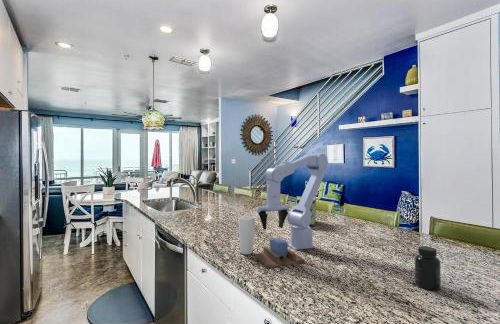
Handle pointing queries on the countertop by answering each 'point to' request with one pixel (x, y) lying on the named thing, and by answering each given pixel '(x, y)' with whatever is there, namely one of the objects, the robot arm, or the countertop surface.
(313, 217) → the protein box
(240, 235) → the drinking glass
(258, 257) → the shelf frame
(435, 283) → the supplement bottle
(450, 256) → the countertop surface
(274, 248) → the shelf block
